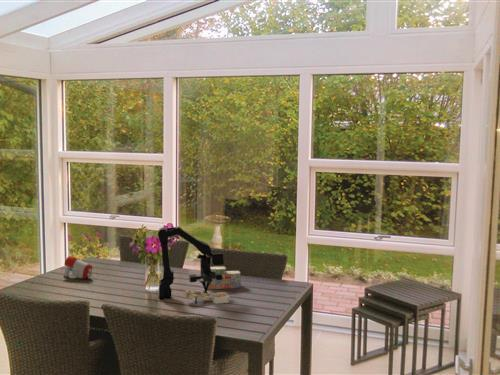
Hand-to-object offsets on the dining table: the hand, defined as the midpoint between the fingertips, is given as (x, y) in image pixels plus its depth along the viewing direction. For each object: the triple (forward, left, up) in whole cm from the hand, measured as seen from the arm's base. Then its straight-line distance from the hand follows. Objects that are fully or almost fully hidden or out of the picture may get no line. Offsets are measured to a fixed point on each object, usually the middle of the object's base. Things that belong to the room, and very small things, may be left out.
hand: (205, 291), depth 297 cm
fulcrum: (-6, -9, -3) cm, 11 cm away
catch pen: (+6, -9, -3) cm, 11 cm away
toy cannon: (-72, +53, -3) cm, 89 cm away
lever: (-6, -5, 0) cm, 8 cm away
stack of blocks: (+14, +16, -3) cm, 21 cm away
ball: (+7, -9, -1) cm, 12 cm away
